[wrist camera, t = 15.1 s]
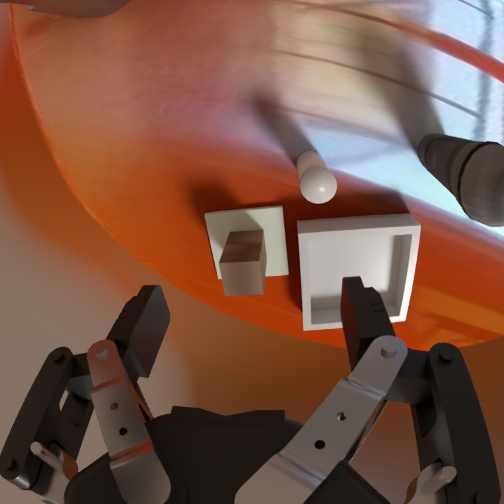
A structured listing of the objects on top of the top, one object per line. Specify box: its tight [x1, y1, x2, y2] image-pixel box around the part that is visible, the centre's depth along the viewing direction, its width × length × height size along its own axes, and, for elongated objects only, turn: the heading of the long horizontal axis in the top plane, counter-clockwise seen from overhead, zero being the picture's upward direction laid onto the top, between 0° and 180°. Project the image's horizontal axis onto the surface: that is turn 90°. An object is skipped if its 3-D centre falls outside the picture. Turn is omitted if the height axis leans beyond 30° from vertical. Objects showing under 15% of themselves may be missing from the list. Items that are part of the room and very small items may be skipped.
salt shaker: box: [296, 151, 337, 204], centre depth 28 cm, size 3×3×8 cm
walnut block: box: [219, 230, 267, 296], centre depth 34 cm, size 4×4×7 cm
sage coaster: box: [204, 205, 289, 279], centre depth 37 cm, size 9×9×1 cm
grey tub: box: [297, 213, 421, 331], centre depth 36 cm, size 14×14×4 cm
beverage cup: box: [418, 134, 504, 227], centre depth 21 cm, size 7×7×20 cm
